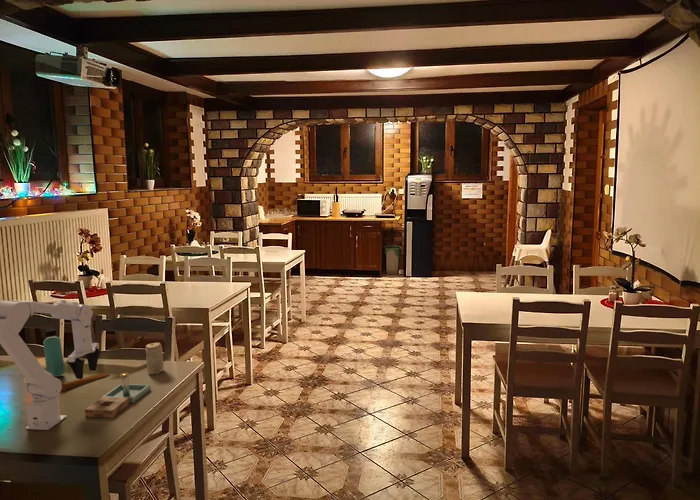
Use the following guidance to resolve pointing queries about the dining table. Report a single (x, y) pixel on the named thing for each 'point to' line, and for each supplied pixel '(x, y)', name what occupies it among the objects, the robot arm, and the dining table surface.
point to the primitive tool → (83, 381)
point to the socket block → (106, 407)
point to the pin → (125, 384)
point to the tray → (135, 392)
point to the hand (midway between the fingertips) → (86, 374)
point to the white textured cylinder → (154, 358)
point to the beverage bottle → (53, 353)
